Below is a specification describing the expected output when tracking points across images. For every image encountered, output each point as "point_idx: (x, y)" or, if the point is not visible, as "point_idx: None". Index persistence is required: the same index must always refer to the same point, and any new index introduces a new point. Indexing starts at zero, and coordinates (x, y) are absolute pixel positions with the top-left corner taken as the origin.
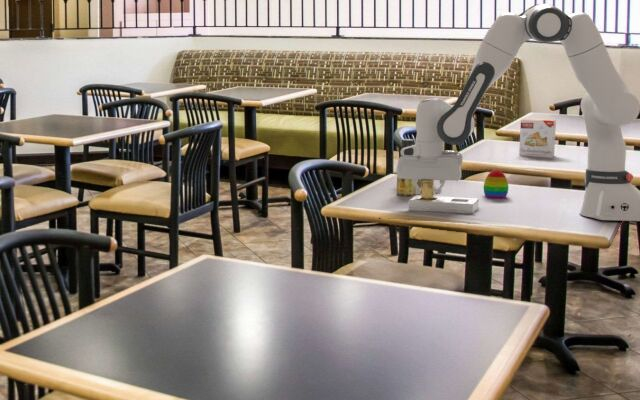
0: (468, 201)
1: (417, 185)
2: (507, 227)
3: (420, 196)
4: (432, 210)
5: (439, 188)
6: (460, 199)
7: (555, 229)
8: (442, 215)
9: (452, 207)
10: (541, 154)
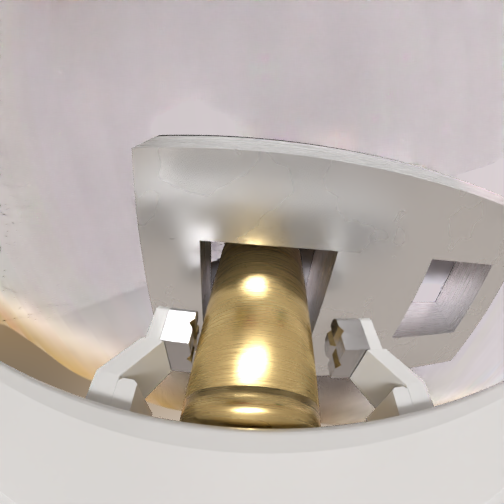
0: (466, 316)
1: (152, 362)
2: None
3: (182, 209)
4: None
5: (357, 380)
6: (463, 261)
7: None
8: (327, 379)
9: None
10: None
